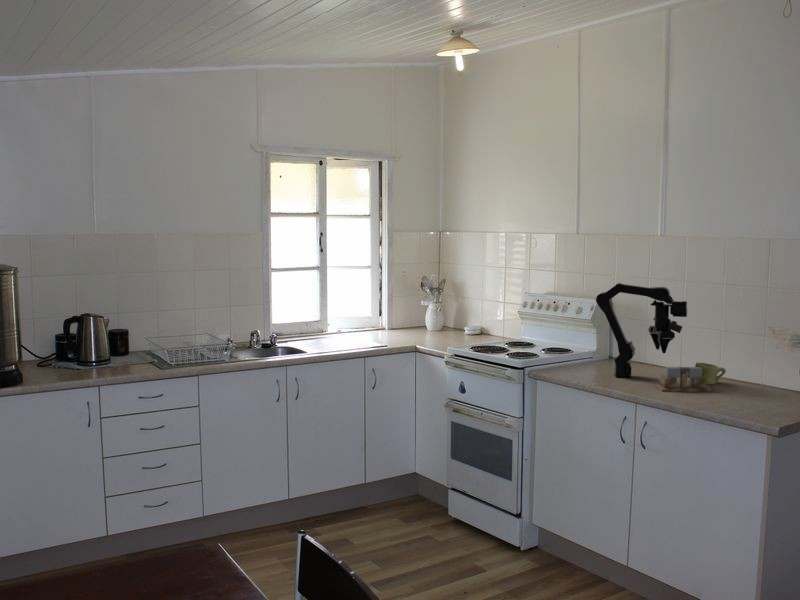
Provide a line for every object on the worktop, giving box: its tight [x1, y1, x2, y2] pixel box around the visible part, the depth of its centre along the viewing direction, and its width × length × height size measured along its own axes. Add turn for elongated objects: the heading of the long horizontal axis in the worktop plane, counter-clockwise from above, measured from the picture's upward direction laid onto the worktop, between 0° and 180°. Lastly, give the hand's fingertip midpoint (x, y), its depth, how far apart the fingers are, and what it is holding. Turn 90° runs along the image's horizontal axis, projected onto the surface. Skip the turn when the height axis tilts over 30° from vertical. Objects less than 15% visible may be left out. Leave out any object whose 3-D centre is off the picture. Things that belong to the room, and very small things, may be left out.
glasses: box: [664, 366, 702, 379], centre depth 313 cm, size 14×3×4 cm, turn 87°
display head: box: [655, 372, 712, 393], centre depth 313 cm, size 20×9×7 cm, turn 87°
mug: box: [694, 362, 727, 386], centre depth 324 cm, size 12×10×10 cm
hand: (660, 351), depth 331 cm, fingers open, 9 cm apart
